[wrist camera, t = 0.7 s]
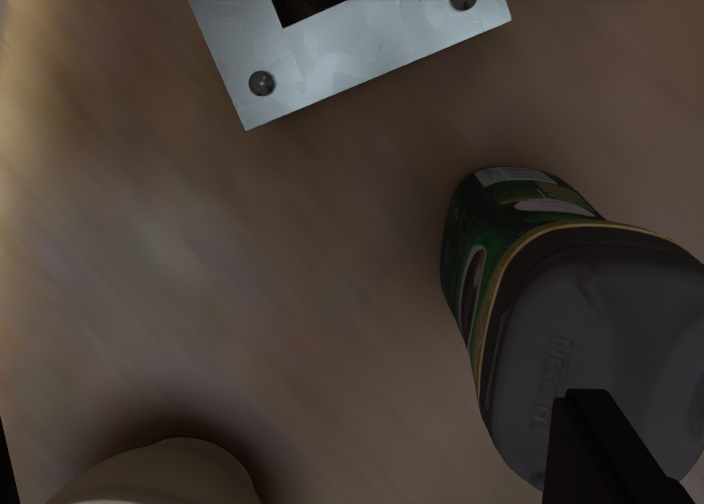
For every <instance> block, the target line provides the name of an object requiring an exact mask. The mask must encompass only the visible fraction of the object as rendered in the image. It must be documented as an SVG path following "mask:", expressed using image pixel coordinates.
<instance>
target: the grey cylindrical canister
mask: <svg viewBox="0 0 704 504" xmlns="http://www.w3.org/2000/svg"><path fill="white" fill-rule="evenodd" d="M303 1H304V2H306V3H308V4H310V5H313V6H315V7H320V8H328V9H329V8H331V7H333V6H336V5H338V4H340V3H342V2H345V1H347V0H303Z"/></svg>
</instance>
